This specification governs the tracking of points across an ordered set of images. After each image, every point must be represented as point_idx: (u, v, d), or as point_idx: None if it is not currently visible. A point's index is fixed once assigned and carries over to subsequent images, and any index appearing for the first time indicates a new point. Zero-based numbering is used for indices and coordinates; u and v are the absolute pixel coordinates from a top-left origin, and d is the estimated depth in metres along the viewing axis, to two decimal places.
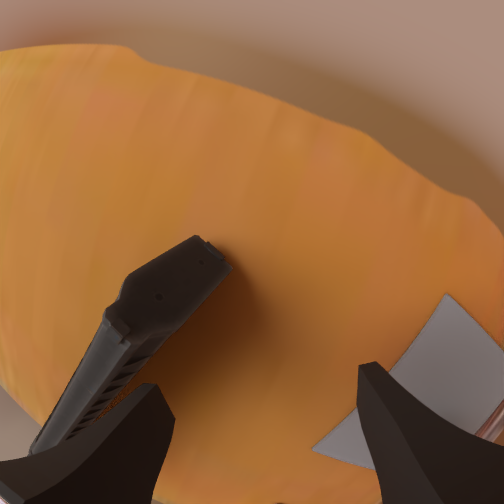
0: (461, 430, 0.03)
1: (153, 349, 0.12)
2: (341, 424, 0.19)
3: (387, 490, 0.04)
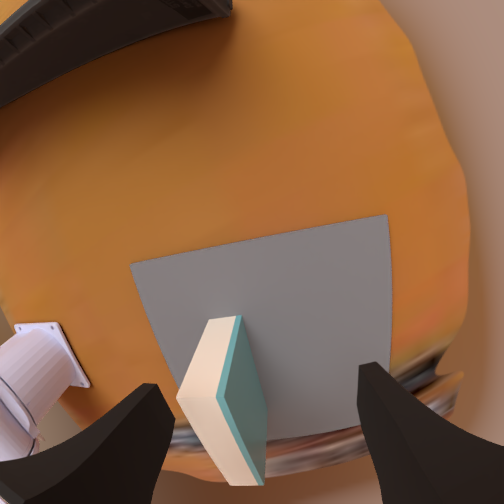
0: (461, 430, 0.03)
1: None
2: (178, 254, 0.18)
3: (387, 490, 0.04)
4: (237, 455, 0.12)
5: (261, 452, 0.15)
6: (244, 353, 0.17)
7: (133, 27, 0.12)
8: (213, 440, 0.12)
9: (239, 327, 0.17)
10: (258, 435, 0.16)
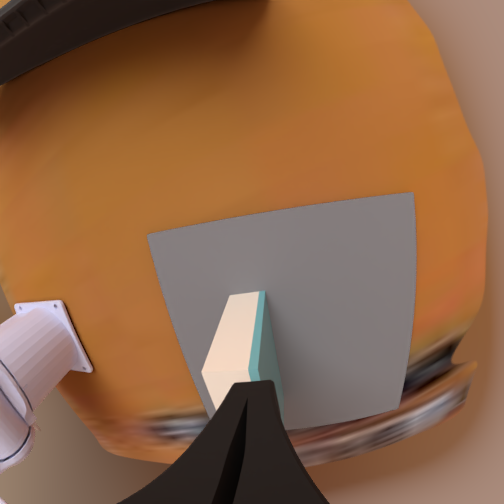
0: (303, 476, 0.04)
1: None
2: (202, 224, 0.17)
3: None
4: None
5: None
6: (268, 330, 0.16)
7: None
8: None
9: (264, 302, 0.17)
10: None
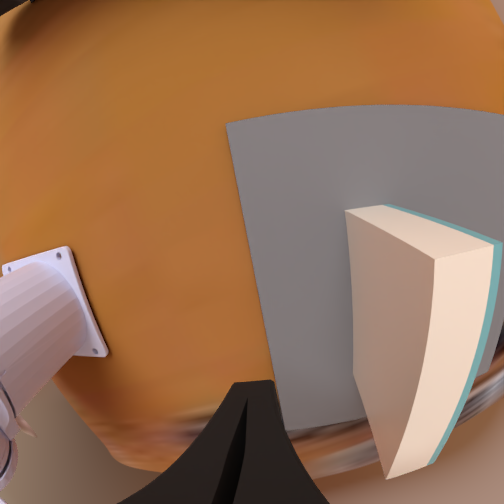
0: (303, 476, 0.04)
1: None
2: (309, 110, 0.11)
3: None
4: (451, 404, 0.06)
5: None
6: None
7: None
8: (441, 376, 0.06)
9: None
10: None
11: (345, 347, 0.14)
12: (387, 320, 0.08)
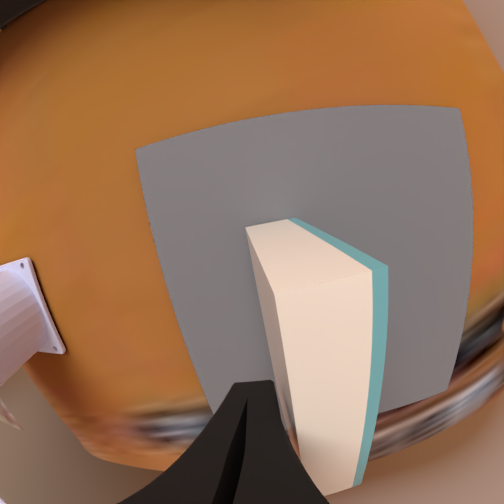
0: (303, 476, 0.04)
1: None
2: (209, 128, 0.12)
3: None
4: (354, 435, 0.06)
5: None
6: None
7: None
8: (324, 411, 0.06)
9: None
10: None
11: (262, 359, 0.15)
12: (273, 345, 0.09)
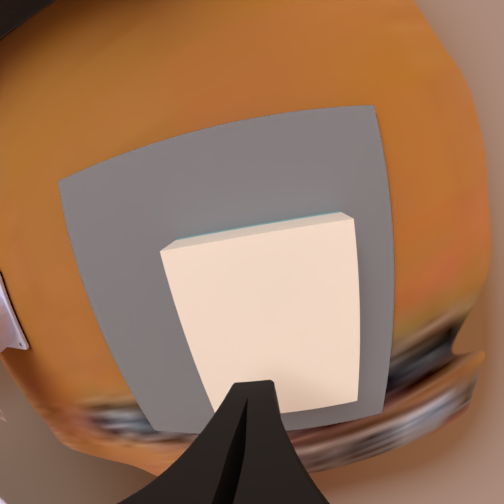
0: (303, 476, 0.04)
1: None
2: (107, 160, 0.13)
3: None
4: None
5: None
6: None
7: None
8: None
9: None
10: None
11: (169, 365, 0.16)
12: (292, 302, 0.11)
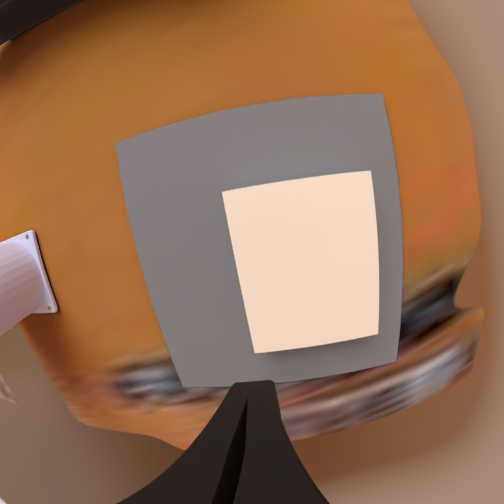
0: (303, 476, 0.04)
1: None
2: (167, 126, 0.16)
3: None
4: None
5: None
6: None
7: None
8: None
9: None
10: None
11: (209, 310, 0.19)
12: (327, 234, 0.14)
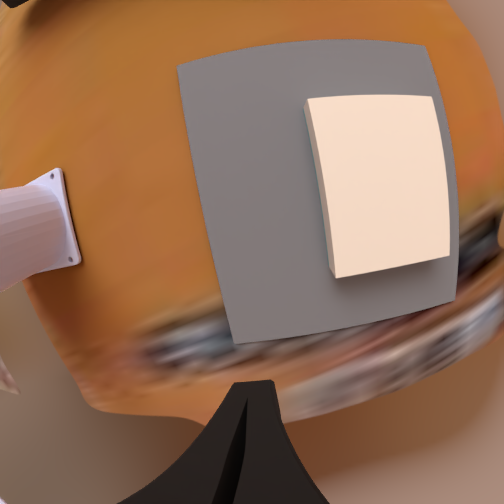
0: (303, 476, 0.04)
1: None
2: (235, 51, 0.14)
3: None
4: None
5: None
6: None
7: None
8: None
9: None
10: None
11: (277, 238, 0.17)
12: (404, 146, 0.13)
